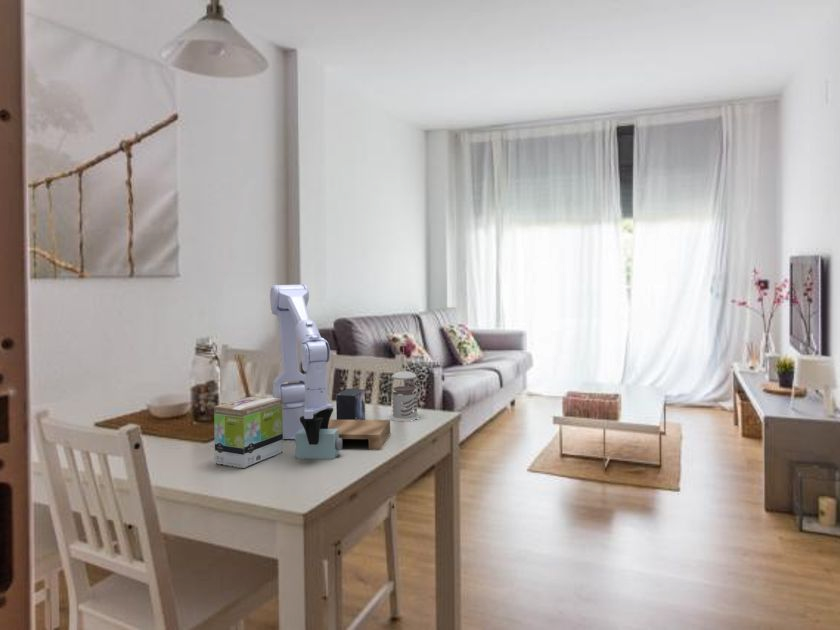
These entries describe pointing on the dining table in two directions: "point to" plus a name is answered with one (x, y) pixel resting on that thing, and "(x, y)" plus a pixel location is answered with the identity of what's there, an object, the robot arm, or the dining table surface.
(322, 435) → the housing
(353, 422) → the stand
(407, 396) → the french press
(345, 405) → the small box
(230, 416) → the tea box
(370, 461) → the dining table surface
